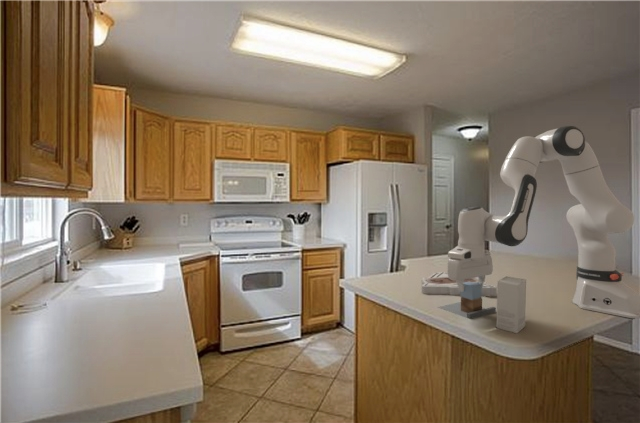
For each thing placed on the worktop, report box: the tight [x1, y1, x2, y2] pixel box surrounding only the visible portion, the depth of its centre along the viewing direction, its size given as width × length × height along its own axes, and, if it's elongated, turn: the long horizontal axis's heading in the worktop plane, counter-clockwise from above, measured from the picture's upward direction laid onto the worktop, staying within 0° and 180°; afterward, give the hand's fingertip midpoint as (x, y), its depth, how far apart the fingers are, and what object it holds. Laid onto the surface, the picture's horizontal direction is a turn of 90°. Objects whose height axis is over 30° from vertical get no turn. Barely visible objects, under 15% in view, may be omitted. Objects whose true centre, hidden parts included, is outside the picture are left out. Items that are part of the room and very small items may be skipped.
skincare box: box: [496, 276, 527, 334], centre depth 109 cm, size 8×7×16 cm
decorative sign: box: [421, 271, 497, 297], centre depth 159 cm, size 32×4×30 cm
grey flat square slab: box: [437, 301, 497, 319], centre depth 126 cm, size 14×14×2 cm
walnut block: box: [460, 297, 483, 313], centre depth 123 cm, size 5×5×5 cm
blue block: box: [459, 281, 483, 300], centre depth 124 cm, size 5×5×5 cm
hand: (470, 289), depth 124 cm, fingers open, 8 cm apart
